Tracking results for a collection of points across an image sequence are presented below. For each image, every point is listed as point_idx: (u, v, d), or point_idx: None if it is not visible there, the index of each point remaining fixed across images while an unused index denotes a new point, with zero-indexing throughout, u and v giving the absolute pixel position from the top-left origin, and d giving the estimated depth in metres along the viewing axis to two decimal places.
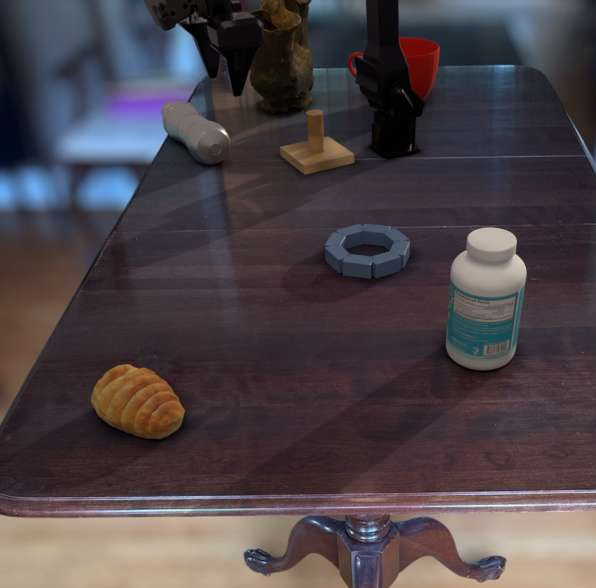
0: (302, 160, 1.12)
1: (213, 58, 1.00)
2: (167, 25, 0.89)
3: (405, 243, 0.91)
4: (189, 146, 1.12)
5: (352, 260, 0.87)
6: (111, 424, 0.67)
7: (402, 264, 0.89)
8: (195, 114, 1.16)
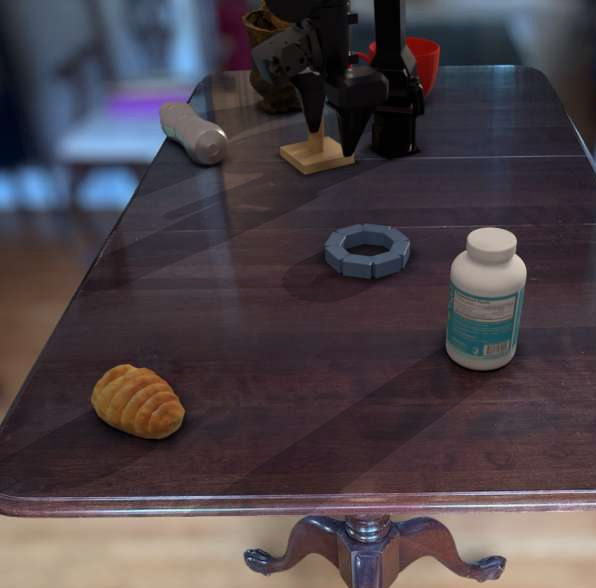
0: (302, 160, 1.12)
1: (316, 111, 0.90)
2: (278, 80, 0.78)
3: (405, 243, 0.91)
4: (187, 149, 1.12)
5: (352, 260, 0.87)
6: (111, 424, 0.67)
7: (402, 264, 0.89)
8: (190, 114, 1.16)
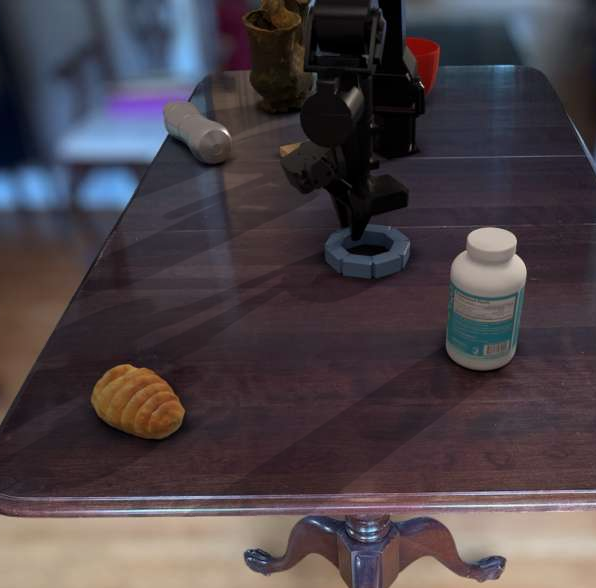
0: None
1: None
2: (306, 189, 0.84)
3: (405, 243, 0.91)
4: (190, 144, 1.12)
5: (352, 260, 0.87)
6: (111, 424, 0.67)
7: (402, 264, 0.89)
8: (198, 114, 1.16)
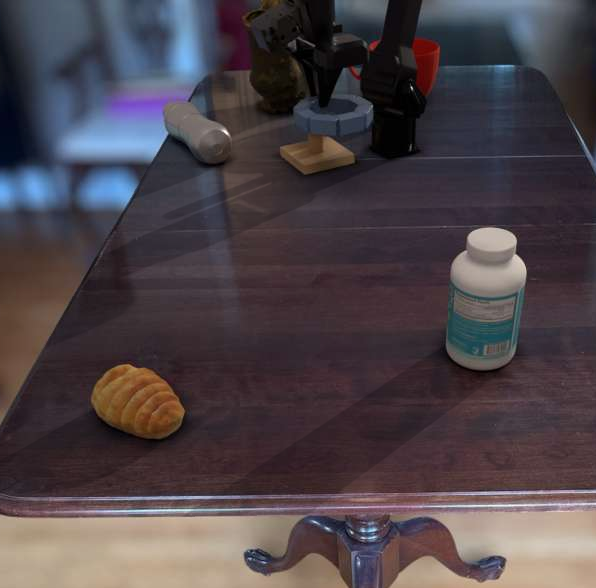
0: (302, 160, 1.12)
1: None
2: (274, 48, 0.91)
3: (368, 106, 0.98)
4: (190, 144, 1.12)
5: (318, 118, 0.94)
6: (111, 424, 0.67)
7: (365, 124, 0.96)
8: (198, 114, 1.16)
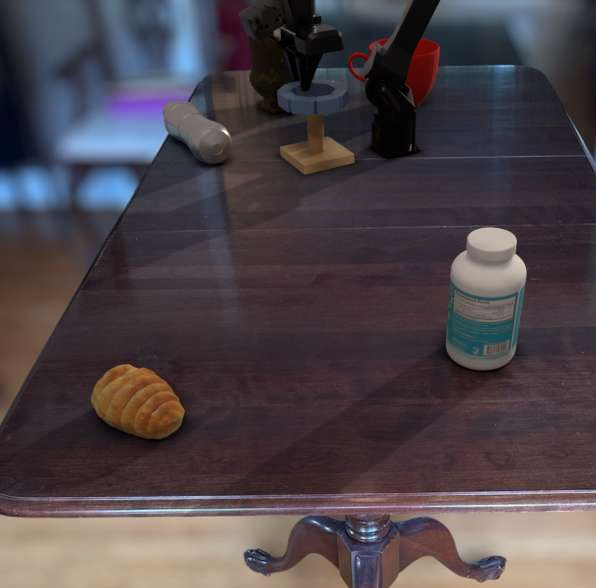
0: (302, 160, 1.12)
1: None
2: (259, 36, 1.02)
3: (344, 89, 1.09)
4: (190, 144, 1.12)
5: (298, 99, 1.06)
6: (111, 424, 0.67)
7: (341, 105, 1.08)
8: (198, 114, 1.16)
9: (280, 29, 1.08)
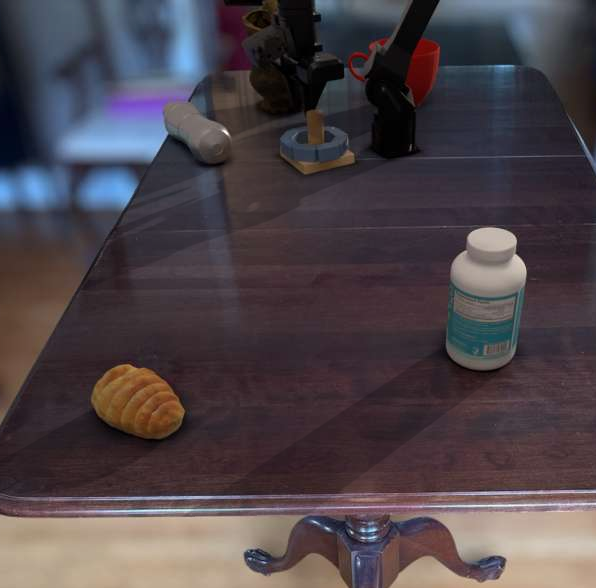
0: None
1: (299, 93, 1.15)
2: (262, 64, 1.05)
3: (344, 137, 1.14)
4: (190, 144, 1.12)
5: (300, 147, 1.11)
6: (111, 424, 0.67)
7: (341, 152, 1.13)
8: (198, 114, 1.16)
9: None
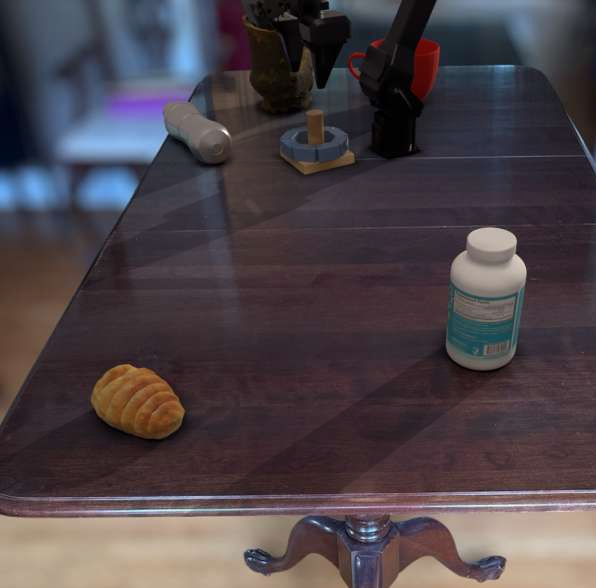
0: None
1: (296, 53, 1.07)
2: (262, 22, 0.96)
3: (344, 137, 1.14)
4: (190, 144, 1.12)
5: (300, 147, 1.11)
6: (111, 424, 0.67)
7: (341, 152, 1.13)
8: (198, 114, 1.16)
9: None
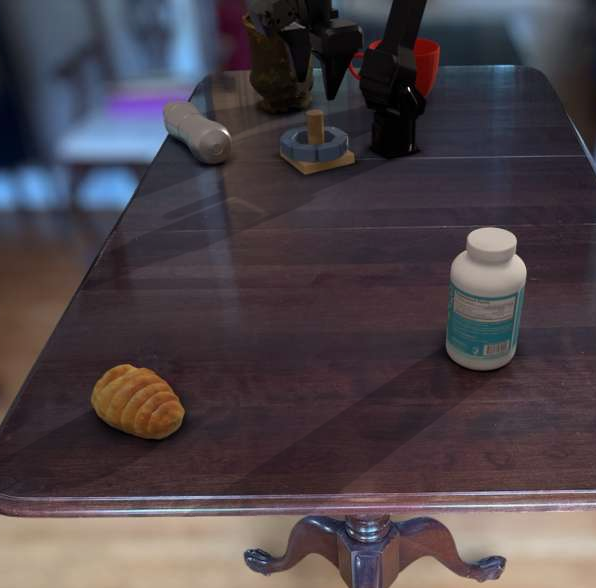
0: None
1: (303, 63, 1.04)
2: (270, 32, 0.92)
3: (344, 137, 1.14)
4: (190, 144, 1.12)
5: (300, 147, 1.11)
6: (111, 424, 0.67)
7: (341, 152, 1.13)
8: (198, 114, 1.16)
9: None
